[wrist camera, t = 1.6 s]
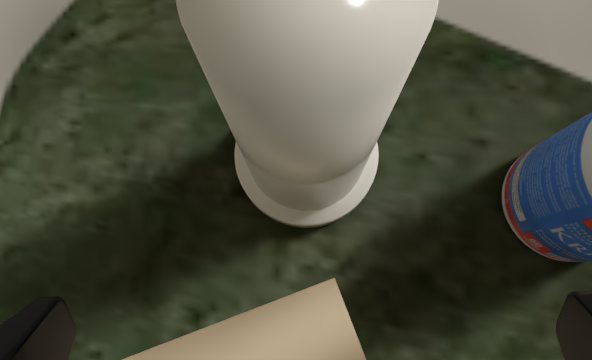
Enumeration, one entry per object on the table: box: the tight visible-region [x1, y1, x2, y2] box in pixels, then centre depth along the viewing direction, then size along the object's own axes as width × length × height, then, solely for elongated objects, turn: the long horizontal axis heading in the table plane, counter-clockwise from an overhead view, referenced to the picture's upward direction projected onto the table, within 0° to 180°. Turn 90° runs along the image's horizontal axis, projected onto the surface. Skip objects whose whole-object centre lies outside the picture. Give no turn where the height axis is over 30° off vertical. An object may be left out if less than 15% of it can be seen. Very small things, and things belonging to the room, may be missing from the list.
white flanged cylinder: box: [176, 0, 439, 228], centre depth 15 cm, size 6×6×13 cm
